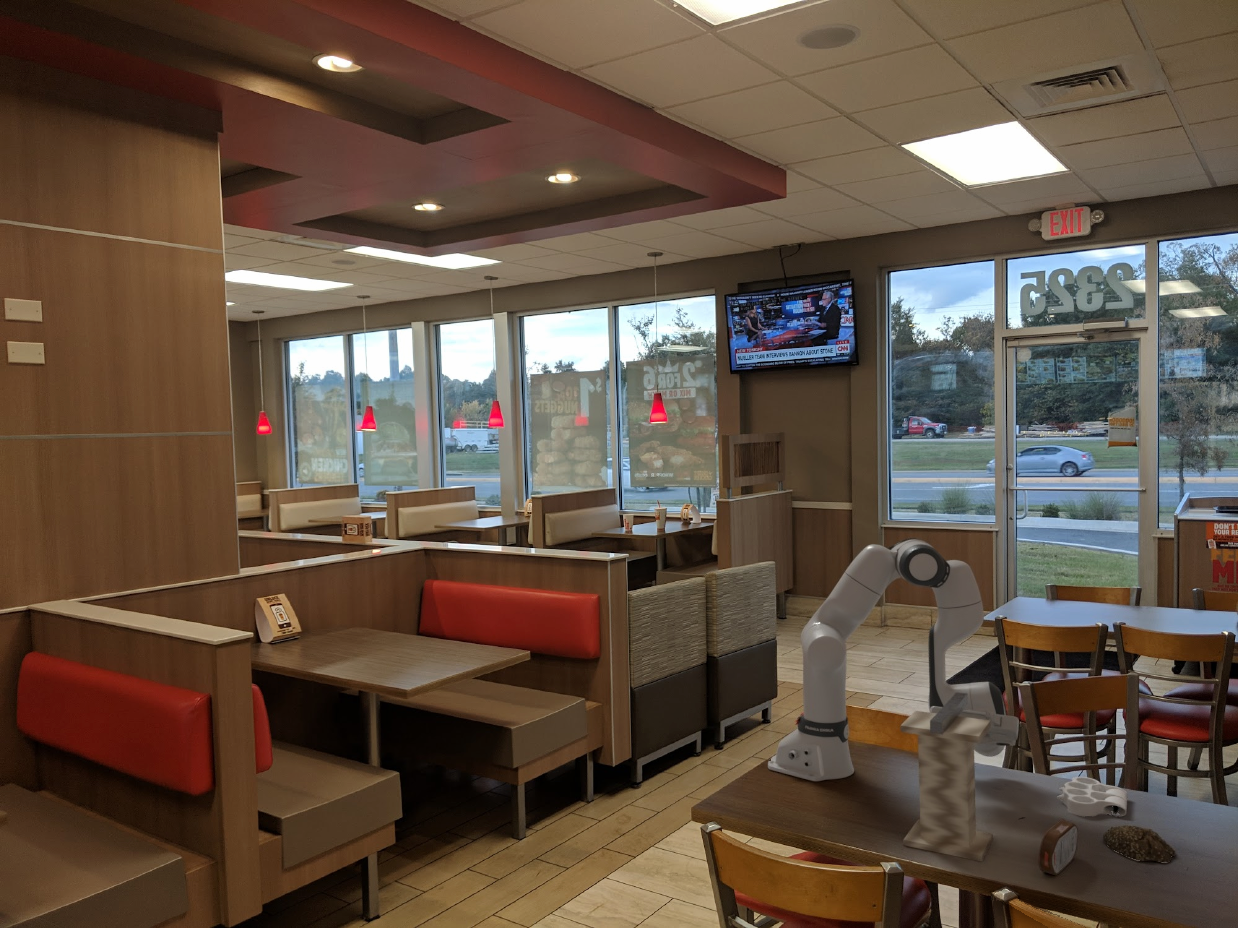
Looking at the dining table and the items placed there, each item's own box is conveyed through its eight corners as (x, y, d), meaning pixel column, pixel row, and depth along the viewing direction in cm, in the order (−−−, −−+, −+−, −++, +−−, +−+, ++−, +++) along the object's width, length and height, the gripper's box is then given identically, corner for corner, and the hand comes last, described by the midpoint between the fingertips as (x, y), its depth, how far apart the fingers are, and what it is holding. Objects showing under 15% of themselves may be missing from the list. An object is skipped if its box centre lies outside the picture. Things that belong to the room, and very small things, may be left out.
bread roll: (1095, 838, 198) (1095, 815, 198) (1154, 837, 198) (1153, 814, 197) (1126, 865, 185) (1126, 841, 185) (1189, 864, 185) (1188, 840, 185)
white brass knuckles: (1125, 824, 204) (1053, 813, 212) (1127, 796, 220) (1060, 786, 227) (1125, 809, 204) (1053, 798, 212) (1127, 782, 220) (1060, 773, 227)
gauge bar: (942, 734, 190) (942, 722, 190) (930, 732, 191) (929, 720, 191) (968, 704, 210) (967, 693, 210) (956, 702, 211) (956, 692, 211)
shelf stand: (903, 844, 197) (900, 725, 196) (918, 824, 207) (915, 710, 206) (981, 861, 188) (978, 736, 188) (993, 838, 198) (990, 720, 198)
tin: (1065, 852, 191) (1064, 812, 191) (1081, 856, 189) (1080, 816, 189) (1037, 877, 181) (1036, 835, 181) (1053, 883, 179) (1053, 840, 178)
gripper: (936, 709, 232) (924, 693, 222) (1023, 720, 221) (1014, 705, 211) (934, 734, 230) (921, 719, 220) (1021, 746, 219) (1012, 732, 209)
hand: (967, 712), depth 215 cm, fingers open, 8 cm apart
